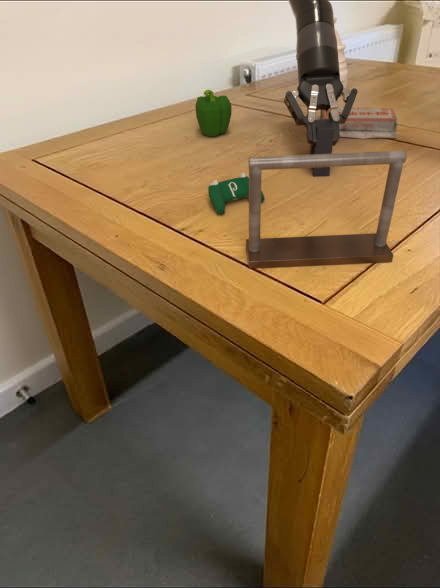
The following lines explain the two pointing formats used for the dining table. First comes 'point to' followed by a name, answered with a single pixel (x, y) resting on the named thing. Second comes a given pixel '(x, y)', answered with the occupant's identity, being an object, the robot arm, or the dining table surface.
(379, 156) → the rail stand
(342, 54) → the honey pot
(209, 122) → the bell pepper
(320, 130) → the clip
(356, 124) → the packaged product
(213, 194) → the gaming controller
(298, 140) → the dining table surface
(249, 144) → the dining table surface
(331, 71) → the robot arm
